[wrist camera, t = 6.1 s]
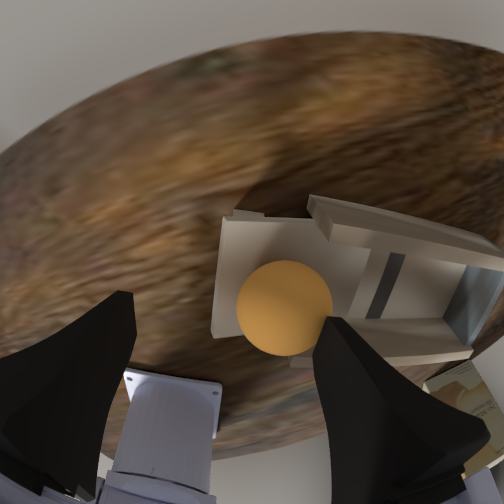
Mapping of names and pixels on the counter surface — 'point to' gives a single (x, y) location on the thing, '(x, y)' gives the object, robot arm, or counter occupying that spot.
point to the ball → (283, 307)
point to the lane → (371, 276)
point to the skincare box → (472, 410)
